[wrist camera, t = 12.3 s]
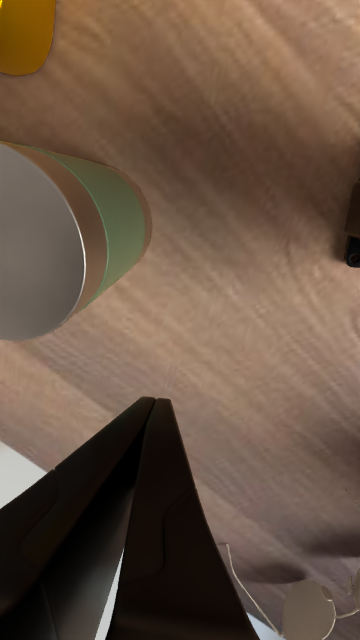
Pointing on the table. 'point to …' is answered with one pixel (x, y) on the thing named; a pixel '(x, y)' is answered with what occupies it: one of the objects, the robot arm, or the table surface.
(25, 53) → the element tile
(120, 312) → the table surface
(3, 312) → the tin can
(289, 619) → the sunglasses
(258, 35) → the table surface
